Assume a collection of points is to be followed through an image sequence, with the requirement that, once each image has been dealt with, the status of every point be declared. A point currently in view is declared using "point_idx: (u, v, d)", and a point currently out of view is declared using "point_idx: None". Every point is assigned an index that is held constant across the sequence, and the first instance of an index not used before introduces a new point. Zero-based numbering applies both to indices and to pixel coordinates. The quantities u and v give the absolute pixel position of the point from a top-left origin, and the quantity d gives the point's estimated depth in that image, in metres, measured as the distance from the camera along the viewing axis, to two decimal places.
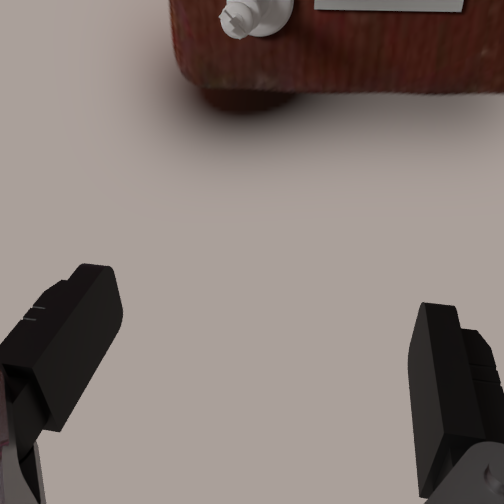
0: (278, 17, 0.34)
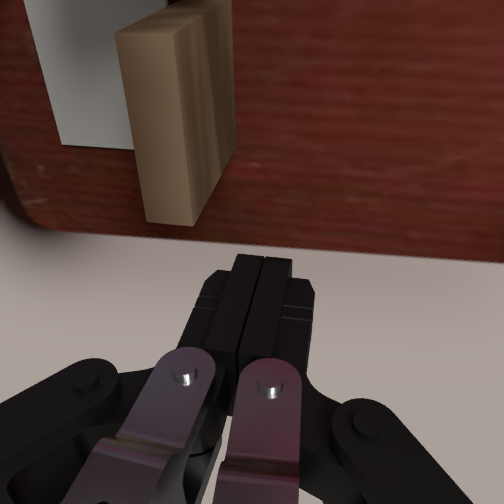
0: None
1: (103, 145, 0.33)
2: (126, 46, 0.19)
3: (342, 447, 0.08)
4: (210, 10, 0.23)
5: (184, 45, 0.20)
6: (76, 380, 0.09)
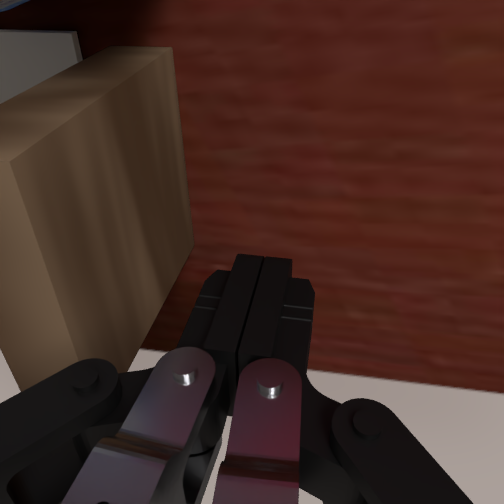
0: None
1: None
2: None
3: (342, 447, 0.08)
4: (122, 83, 0.14)
5: (49, 165, 0.11)
6: (76, 380, 0.09)
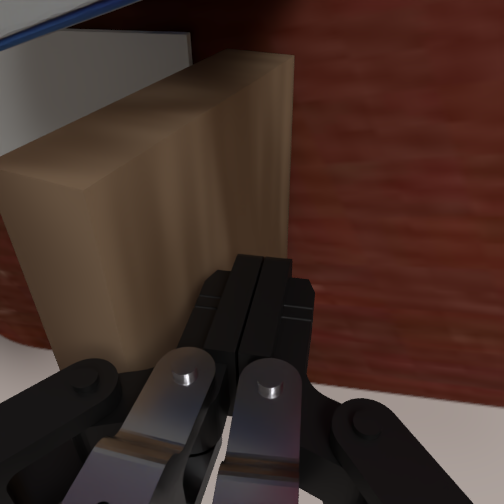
0: None
1: None
2: (7, 192, 0.09)
3: (342, 447, 0.08)
4: (231, 96, 0.12)
5: (131, 193, 0.09)
6: (76, 380, 0.09)
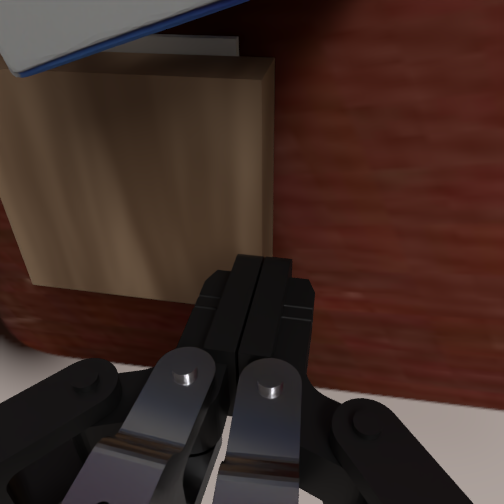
0: None
1: None
2: None
3: (342, 447, 0.08)
4: (116, 74, 0.14)
5: None
6: (76, 380, 0.09)
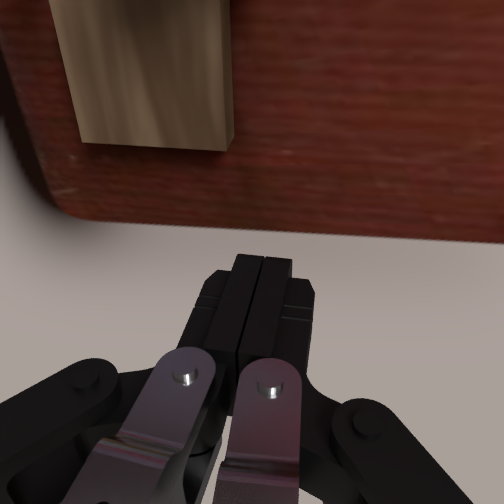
0: None
1: None
2: None
3: (342, 447, 0.08)
4: None
5: (69, 5, 0.27)
6: (76, 380, 0.09)
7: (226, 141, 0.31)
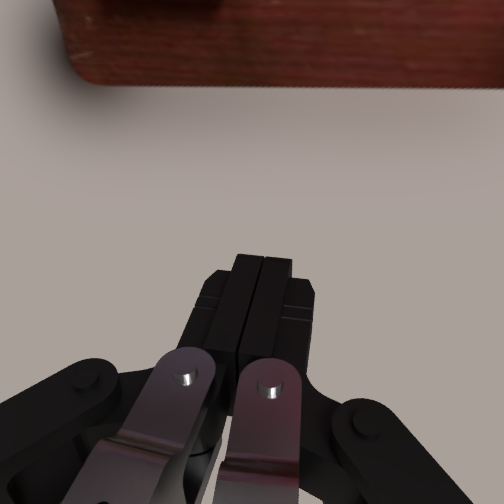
0: None
1: None
2: None
3: (342, 447, 0.08)
4: None
5: None
6: (76, 380, 0.09)
7: None
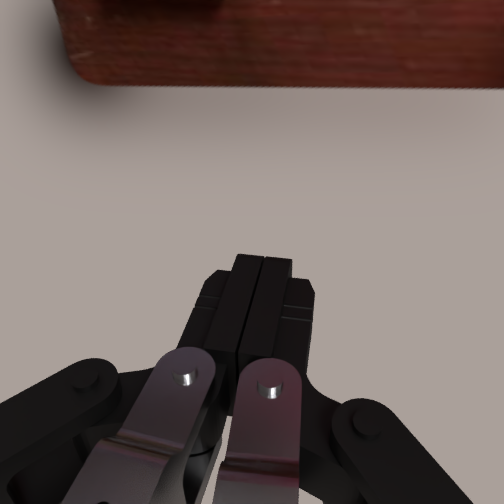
0: None
1: None
2: None
3: (342, 447, 0.08)
4: None
5: None
6: (76, 380, 0.09)
7: None
